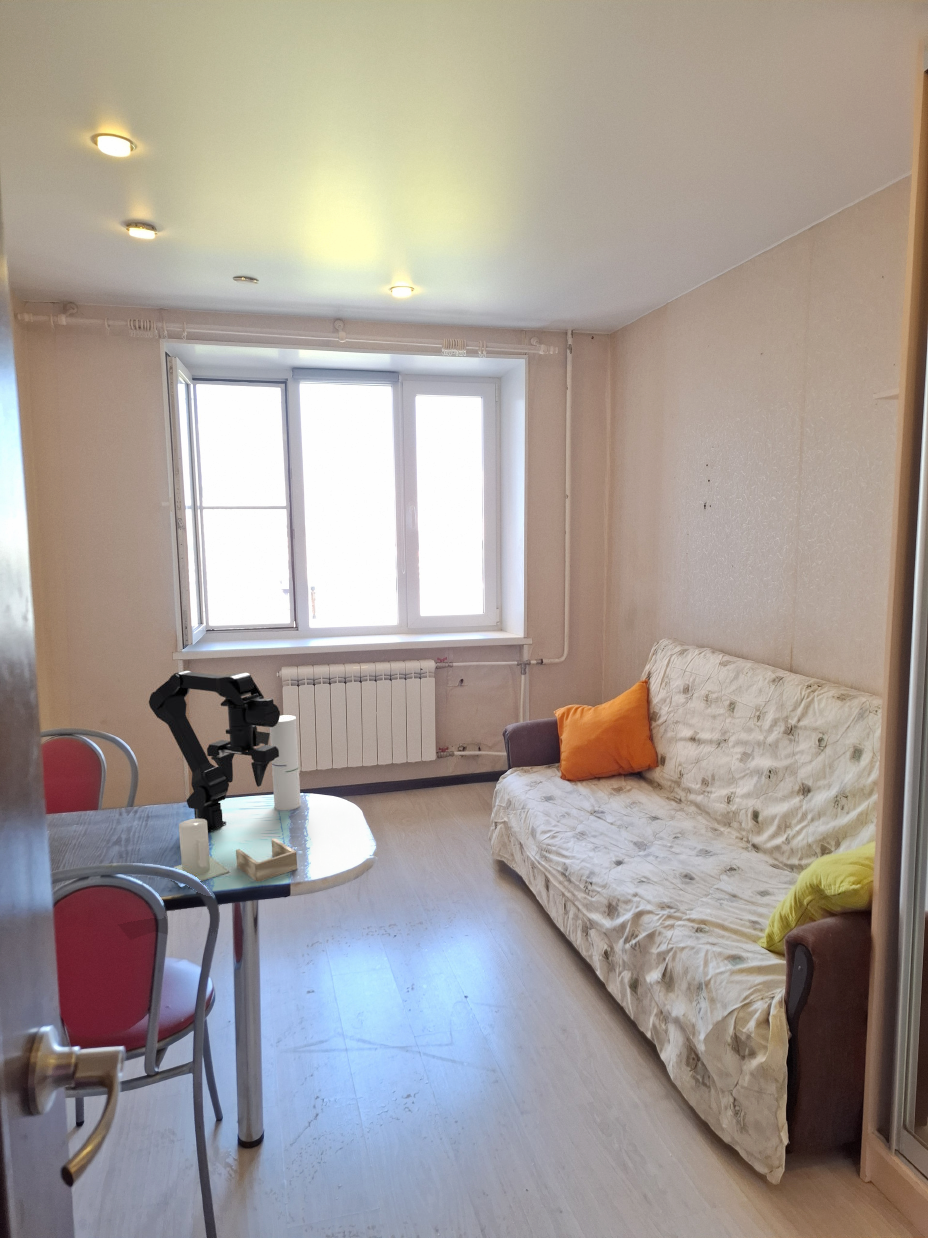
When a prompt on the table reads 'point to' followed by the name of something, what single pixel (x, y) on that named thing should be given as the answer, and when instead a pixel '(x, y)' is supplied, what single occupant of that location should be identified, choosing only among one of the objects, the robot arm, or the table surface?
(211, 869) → the sage mat
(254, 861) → the frame
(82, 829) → the table surface
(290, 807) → the cylindrical container
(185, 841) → the rounded top cylinder
